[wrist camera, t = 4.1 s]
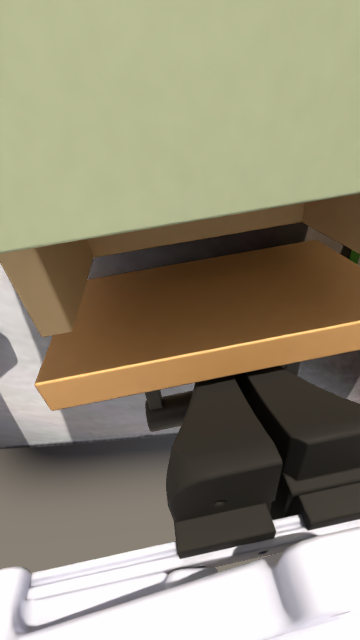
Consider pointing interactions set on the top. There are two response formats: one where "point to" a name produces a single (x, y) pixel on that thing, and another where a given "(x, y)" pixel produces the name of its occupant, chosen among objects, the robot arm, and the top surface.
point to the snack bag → (355, 257)
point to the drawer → (190, 308)
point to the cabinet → (171, 112)
